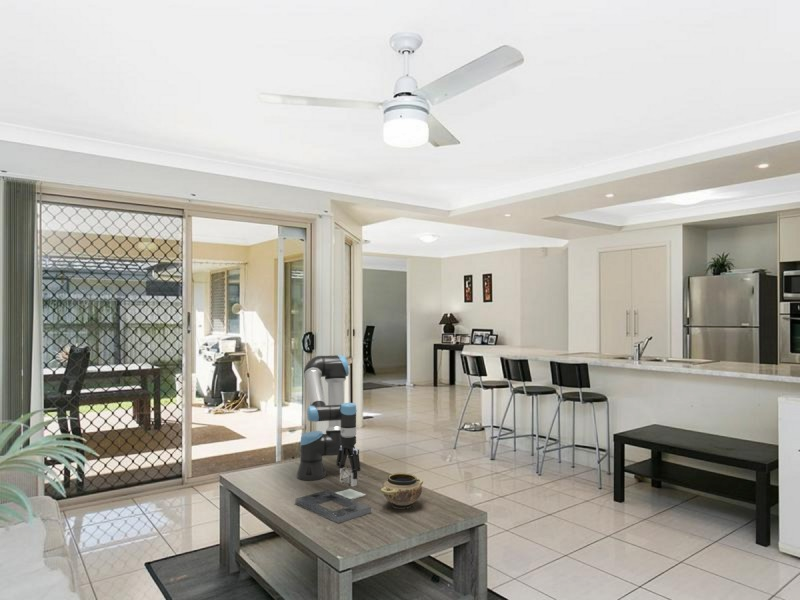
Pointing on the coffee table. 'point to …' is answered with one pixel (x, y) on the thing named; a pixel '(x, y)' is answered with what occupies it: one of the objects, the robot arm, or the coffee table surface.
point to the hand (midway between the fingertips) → (348, 483)
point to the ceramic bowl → (402, 489)
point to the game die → (346, 475)
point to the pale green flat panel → (351, 494)
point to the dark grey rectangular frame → (337, 516)
